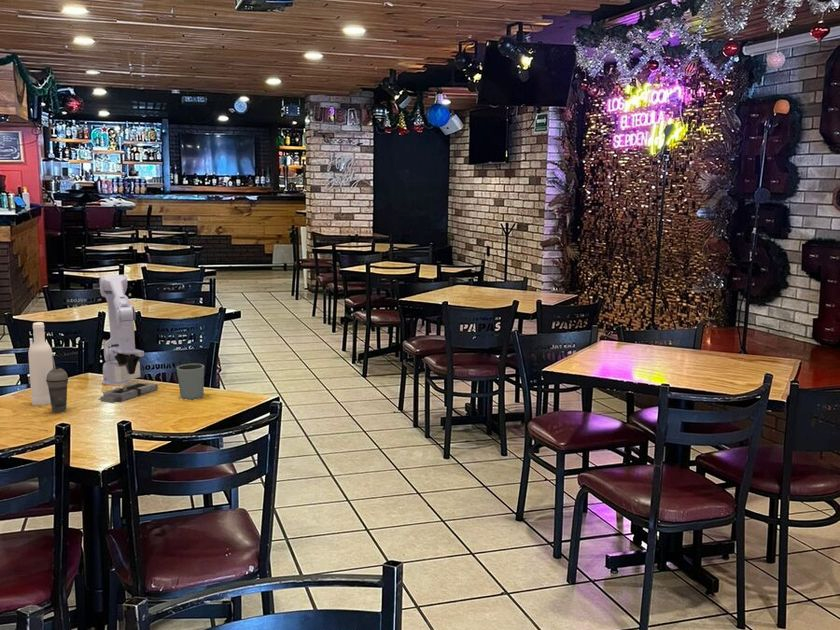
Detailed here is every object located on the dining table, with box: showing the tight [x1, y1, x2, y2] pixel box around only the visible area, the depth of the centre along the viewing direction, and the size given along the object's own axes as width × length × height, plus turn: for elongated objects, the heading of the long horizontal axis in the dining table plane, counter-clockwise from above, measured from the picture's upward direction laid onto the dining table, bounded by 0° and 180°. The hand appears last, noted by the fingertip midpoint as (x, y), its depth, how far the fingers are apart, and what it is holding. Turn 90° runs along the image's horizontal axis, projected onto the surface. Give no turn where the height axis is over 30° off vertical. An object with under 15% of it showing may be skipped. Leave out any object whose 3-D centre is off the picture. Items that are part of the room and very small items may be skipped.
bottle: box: [27, 321, 54, 406], centre depth 291 cm, size 8×8×30 cm
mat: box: [97, 388, 160, 403], centre depth 306 cm, size 11×21×1 cm, turn 157°
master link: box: [114, 360, 141, 382], centre depth 304 cm, size 3×10×6 cm, turn 157°
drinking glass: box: [175, 363, 205, 401], centre depth 303 cm, size 10×10×12 cm
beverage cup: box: [46, 355, 69, 414], centre depth 282 cm, size 7×7×20 cm
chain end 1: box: [99, 387, 138, 404], centre depth 299 cm, size 9×11×2 cm
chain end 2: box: [122, 381, 159, 396], centre depth 311 cm, size 9×11×2 cm
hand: (128, 373), depth 304 cm, fingers closed on master link, 3 cm apart
